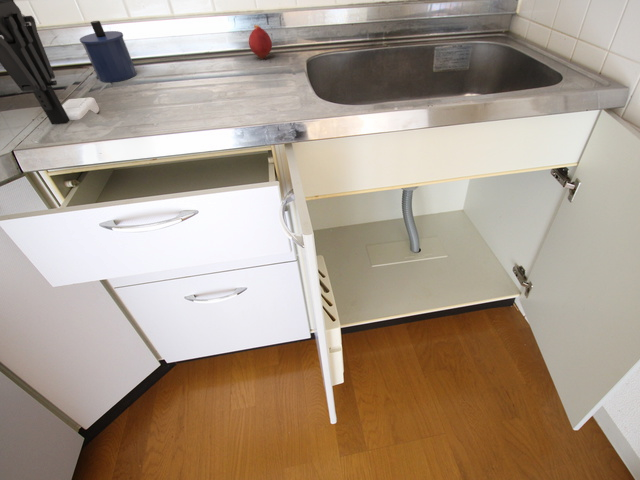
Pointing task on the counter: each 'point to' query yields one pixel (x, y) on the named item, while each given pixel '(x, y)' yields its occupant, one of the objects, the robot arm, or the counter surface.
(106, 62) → the pot
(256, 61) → the counter surface
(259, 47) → the onion
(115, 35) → the pot lid
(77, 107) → the soap
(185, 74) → the counter surface
